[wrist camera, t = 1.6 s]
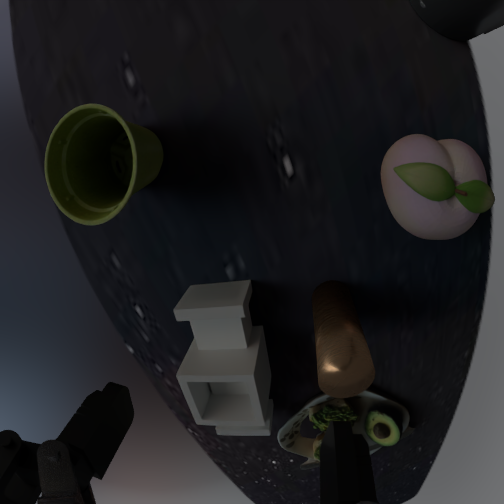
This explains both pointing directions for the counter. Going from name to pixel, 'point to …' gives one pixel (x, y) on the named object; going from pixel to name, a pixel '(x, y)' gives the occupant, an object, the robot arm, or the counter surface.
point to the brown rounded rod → (340, 342)
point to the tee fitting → (225, 360)
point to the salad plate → (347, 409)
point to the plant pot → (98, 163)
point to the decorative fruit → (435, 186)
